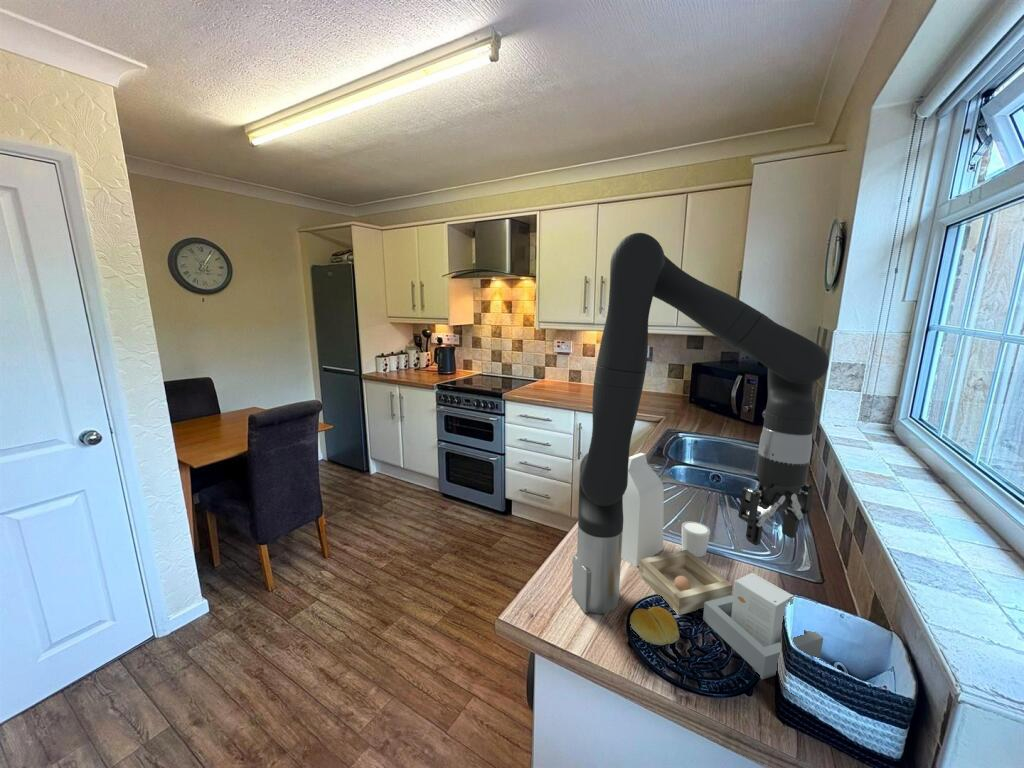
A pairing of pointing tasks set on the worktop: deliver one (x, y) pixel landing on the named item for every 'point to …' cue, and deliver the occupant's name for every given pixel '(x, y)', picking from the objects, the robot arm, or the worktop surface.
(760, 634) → the small box
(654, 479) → the milk
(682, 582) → the ball
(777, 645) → the grey tub
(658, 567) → the birch box
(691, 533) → the white cylinder
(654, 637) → the bread roll
